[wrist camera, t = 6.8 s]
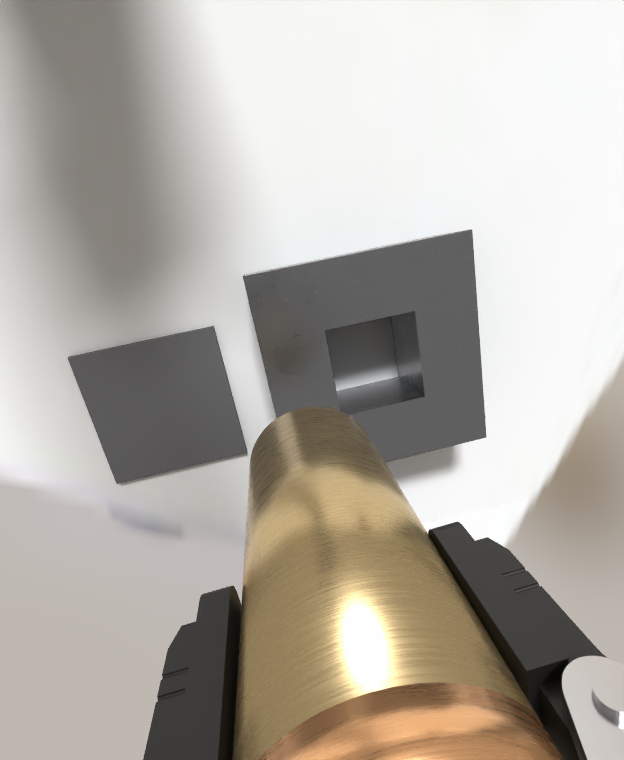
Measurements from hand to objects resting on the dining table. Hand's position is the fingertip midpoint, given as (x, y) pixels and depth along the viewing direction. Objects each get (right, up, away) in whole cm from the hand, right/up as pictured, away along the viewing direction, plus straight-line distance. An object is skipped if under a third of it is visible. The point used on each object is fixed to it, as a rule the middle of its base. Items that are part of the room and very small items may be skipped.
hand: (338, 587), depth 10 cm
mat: (-12, +3, +20) cm, 23 cm away
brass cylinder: (-1, +2, +6) cm, 6 cm away
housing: (+3, +7, +21) cm, 22 cm away
